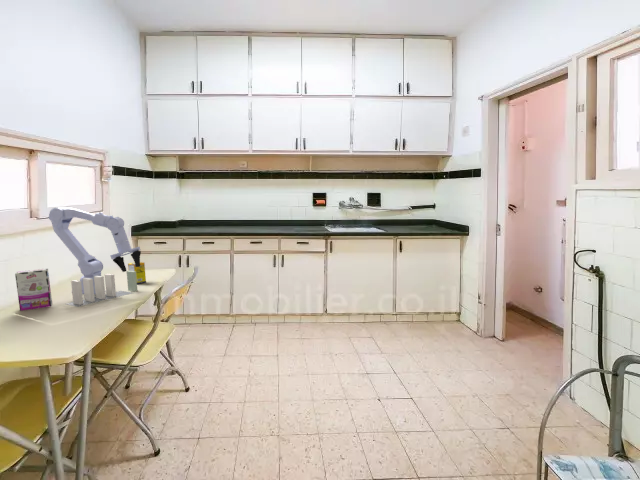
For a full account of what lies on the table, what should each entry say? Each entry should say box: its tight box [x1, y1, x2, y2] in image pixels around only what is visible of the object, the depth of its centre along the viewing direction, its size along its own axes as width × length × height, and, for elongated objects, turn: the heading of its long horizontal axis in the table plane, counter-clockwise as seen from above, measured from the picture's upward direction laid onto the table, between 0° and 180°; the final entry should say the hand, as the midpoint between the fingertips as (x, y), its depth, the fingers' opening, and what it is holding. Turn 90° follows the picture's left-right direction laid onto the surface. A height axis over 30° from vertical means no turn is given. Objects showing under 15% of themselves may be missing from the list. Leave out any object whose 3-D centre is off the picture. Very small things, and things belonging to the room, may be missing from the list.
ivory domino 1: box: [70, 279, 84, 305], centre depth 180 cm, size 2×5×10 cm, turn 58°
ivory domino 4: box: [104, 273, 117, 297], centre depth 192 cm, size 2×5×10 cm, turn 58°
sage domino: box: [126, 270, 138, 292], centre depth 202 cm, size 2×5×10 cm, turn 58°
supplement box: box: [127, 261, 147, 285], centre depth 221 cm, size 6×6×11 cm
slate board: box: [66, 290, 133, 308], centre depth 189 cm, size 26×10×1 cm, turn 148°
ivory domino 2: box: [83, 278, 95, 302], centre depth 184 cm, size 2×5×10 cm, turn 58°
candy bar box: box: [14, 268, 53, 312], centre depth 176 cm, size 11×5×16 cm, turn 117°
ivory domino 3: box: [94, 275, 106, 299], centre depth 188 cm, size 2×5×10 cm, turn 58°
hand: (131, 269), depth 200 cm, fingers open, 7 cm apart
